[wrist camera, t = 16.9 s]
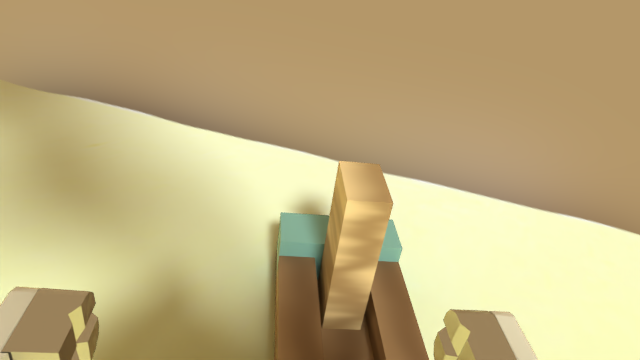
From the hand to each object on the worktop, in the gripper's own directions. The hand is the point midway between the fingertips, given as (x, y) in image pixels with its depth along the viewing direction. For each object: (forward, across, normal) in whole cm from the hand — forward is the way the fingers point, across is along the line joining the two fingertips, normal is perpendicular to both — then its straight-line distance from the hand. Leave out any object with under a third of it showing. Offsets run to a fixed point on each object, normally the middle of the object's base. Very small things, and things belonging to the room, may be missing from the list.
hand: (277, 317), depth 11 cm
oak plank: (+18, -7, +20) cm, 28 cm away
